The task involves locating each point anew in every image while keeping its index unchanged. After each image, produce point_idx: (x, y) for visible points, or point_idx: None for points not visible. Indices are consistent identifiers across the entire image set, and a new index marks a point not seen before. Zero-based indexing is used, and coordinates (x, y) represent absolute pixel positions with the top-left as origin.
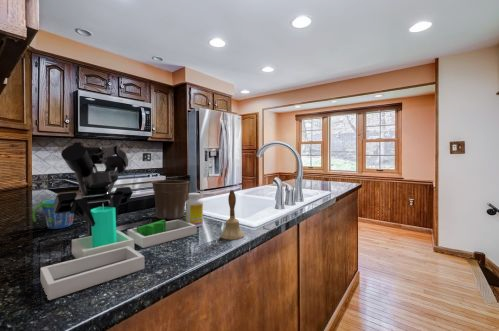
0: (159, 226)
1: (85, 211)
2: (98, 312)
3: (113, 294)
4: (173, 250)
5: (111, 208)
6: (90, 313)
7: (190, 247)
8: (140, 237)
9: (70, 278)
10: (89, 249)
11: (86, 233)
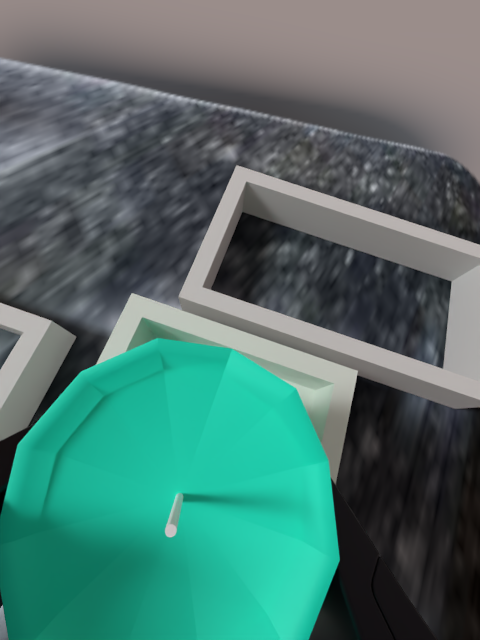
0: None
1: (401, 596)
2: (413, 151)
3: (363, 172)
4: (61, 208)
5: (41, 498)
6: (424, 160)
7: (11, 171)
8: (36, 353)
9: (450, 236)
10: (329, 370)
11: None
